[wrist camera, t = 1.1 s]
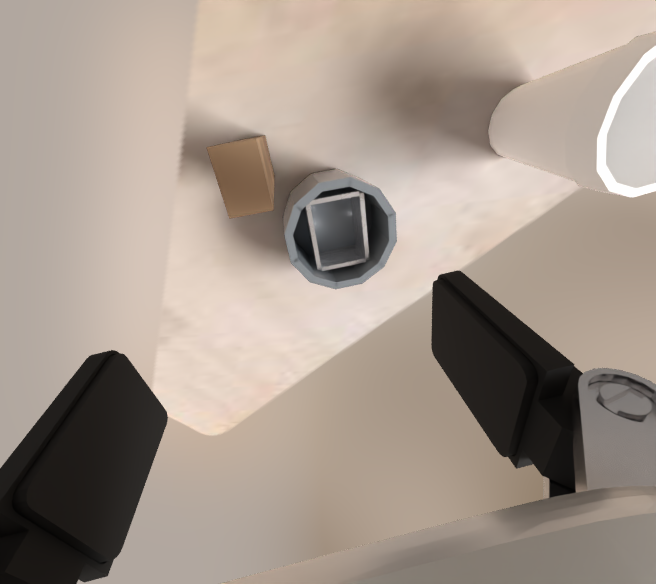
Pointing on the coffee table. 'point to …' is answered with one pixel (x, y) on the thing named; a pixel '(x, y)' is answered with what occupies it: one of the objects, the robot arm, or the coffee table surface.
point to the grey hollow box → (361, 249)
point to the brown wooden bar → (244, 175)
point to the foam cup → (587, 121)
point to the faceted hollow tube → (337, 228)
